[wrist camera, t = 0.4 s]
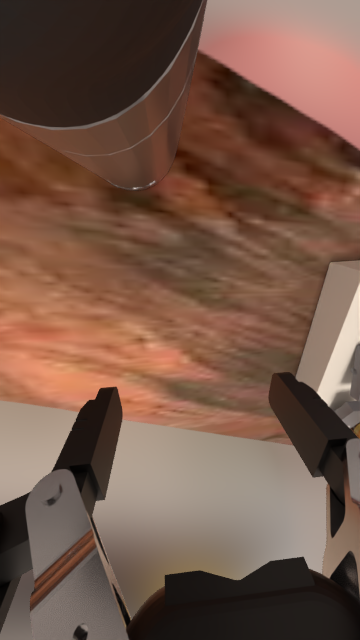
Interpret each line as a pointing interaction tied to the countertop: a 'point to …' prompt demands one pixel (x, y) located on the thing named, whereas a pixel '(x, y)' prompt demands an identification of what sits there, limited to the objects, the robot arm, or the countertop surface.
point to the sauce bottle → (357, 429)
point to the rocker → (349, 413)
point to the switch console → (334, 336)
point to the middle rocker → (356, 376)
